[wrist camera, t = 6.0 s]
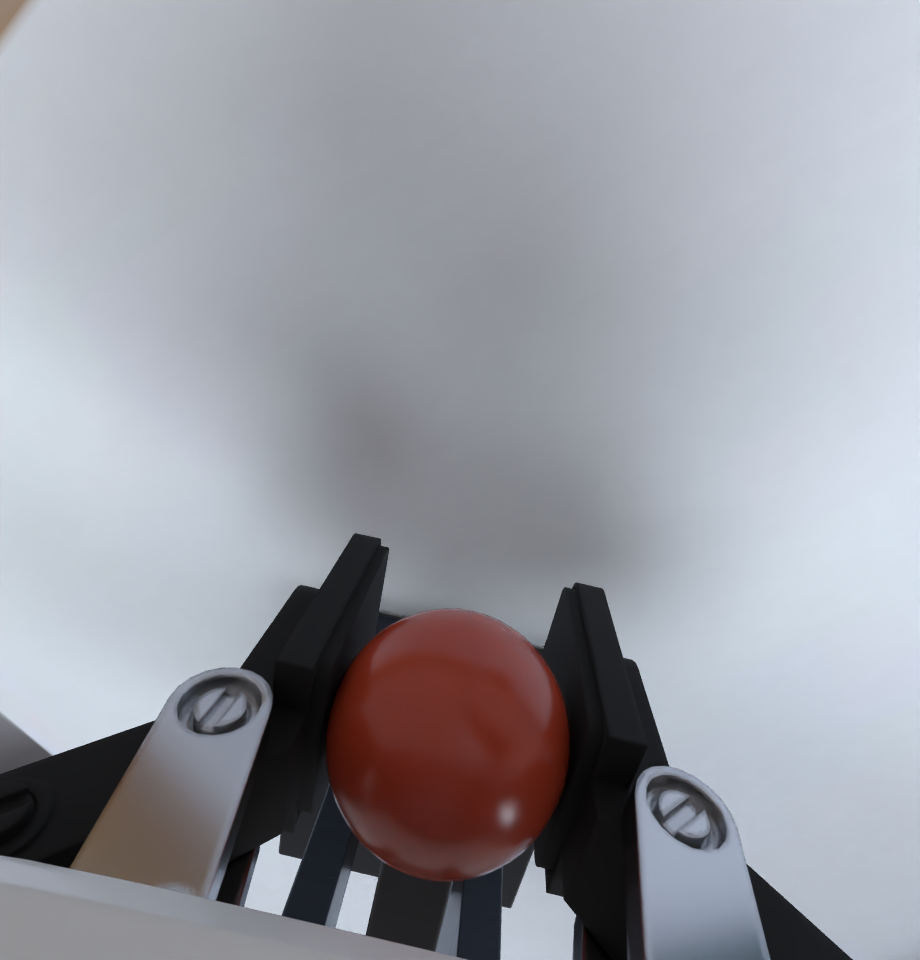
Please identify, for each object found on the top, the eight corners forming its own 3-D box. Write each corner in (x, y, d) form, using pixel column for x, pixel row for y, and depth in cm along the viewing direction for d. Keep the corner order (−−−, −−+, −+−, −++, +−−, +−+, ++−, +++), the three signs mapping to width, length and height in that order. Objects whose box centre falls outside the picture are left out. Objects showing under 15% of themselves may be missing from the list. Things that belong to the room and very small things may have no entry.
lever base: (314, 597, 17) (-53, 1199, 6) (592, 660, 17) (732, 1395, 6) (290, 823, 21) (49, 1418, 10) (511, 876, 21) (505, 1535, 10)
